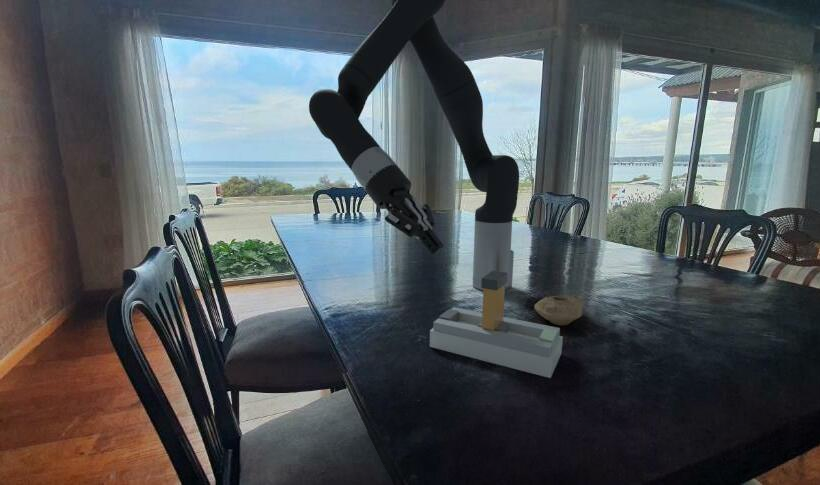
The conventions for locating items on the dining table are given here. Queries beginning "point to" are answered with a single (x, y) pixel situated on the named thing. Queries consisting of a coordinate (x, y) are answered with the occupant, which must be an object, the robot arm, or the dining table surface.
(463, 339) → the base
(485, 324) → the breaker lever
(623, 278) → the dining table surface
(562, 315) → the pottery oil lamp
